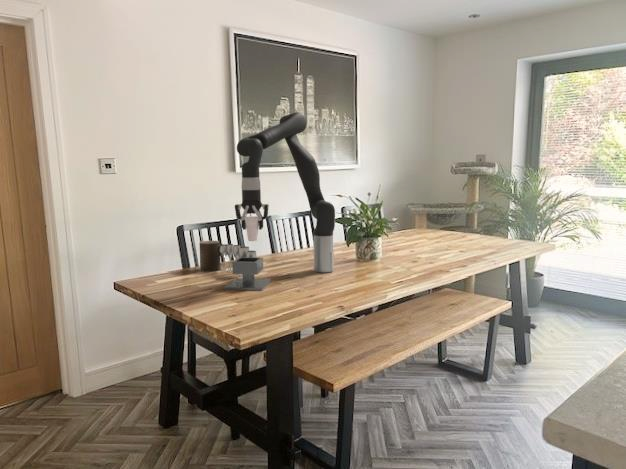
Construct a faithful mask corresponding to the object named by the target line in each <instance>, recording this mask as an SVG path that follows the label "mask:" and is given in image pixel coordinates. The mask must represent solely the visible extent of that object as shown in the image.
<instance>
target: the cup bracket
mask: <svg viewBox="0 0 626 469" xmlns="http://www.w3.org/2000/svg"><path fill="white" fill-rule="evenodd" d="M231 269H232V270H233V272H232V274H233V275H240V274H242V275H243V276H242V277H236V278H234V279H233V280H231V281H230V283H227V284H226V285H225V286H223V287H224V290H229V291H231V290H233V291H235V290H236V291H256V292H257V291H259V292H260V291H264V289H265V288H266V287H267V286H268V285H270V283H272V278H259V277H258V278H257V277H256V278H254V276H255V275H258V274H260V273H261V272H262V271H263V270H264V257H258V256H257V257H239V258H238V259H235V260H233V261H231Z"/></svg>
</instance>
